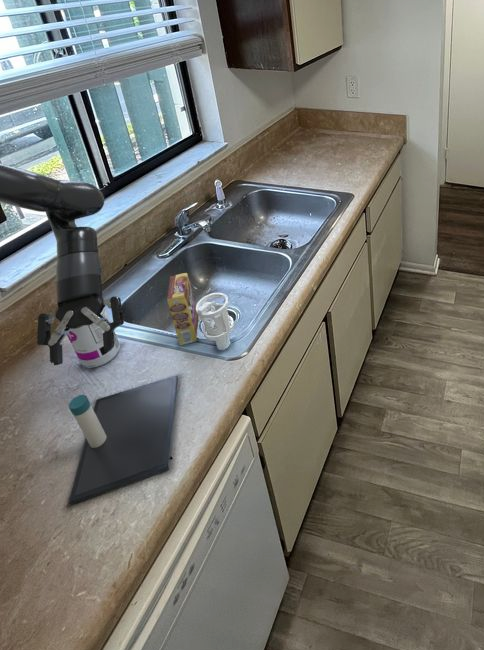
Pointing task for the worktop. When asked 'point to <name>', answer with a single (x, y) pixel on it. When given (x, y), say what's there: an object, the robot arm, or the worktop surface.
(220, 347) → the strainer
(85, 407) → the teal capped white tube
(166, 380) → the tablet
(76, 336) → the supplement can
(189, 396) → the worktop surface
